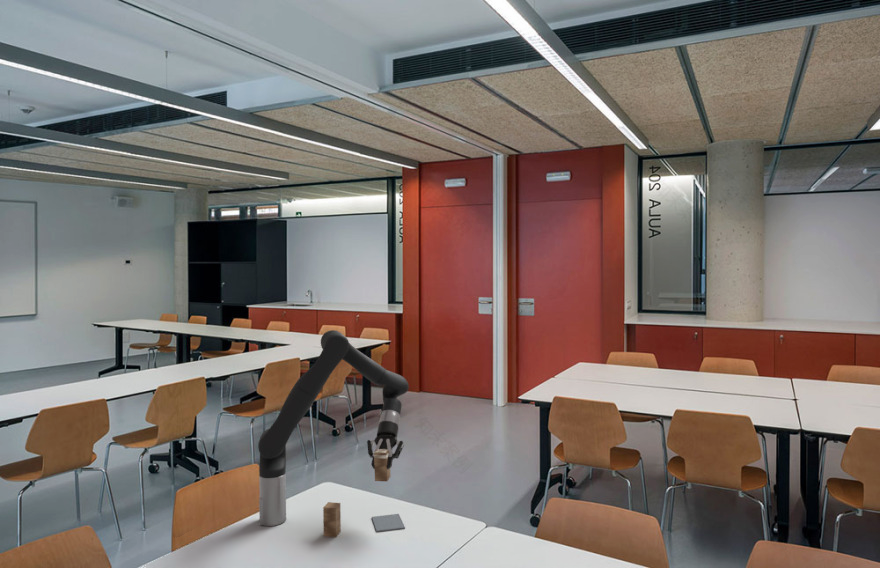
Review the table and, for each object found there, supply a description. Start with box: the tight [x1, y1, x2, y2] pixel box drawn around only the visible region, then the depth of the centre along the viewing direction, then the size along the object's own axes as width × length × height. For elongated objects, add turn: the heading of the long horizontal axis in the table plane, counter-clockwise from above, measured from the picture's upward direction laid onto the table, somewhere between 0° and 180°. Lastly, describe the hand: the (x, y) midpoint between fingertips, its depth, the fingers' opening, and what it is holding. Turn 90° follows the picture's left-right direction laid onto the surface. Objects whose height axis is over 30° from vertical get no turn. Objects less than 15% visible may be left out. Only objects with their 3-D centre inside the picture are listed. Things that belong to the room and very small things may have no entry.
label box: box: [373, 449, 391, 482], centre depth 207 cm, size 5×5×10 cm
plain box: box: [322, 501, 342, 538], centre depth 199 cm, size 4×4×10 cm
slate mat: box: [371, 513, 406, 533], centre depth 208 cm, size 10×12×1 cm
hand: (381, 467), depth 205 cm, fingers closed on label box, 4 cm apart
